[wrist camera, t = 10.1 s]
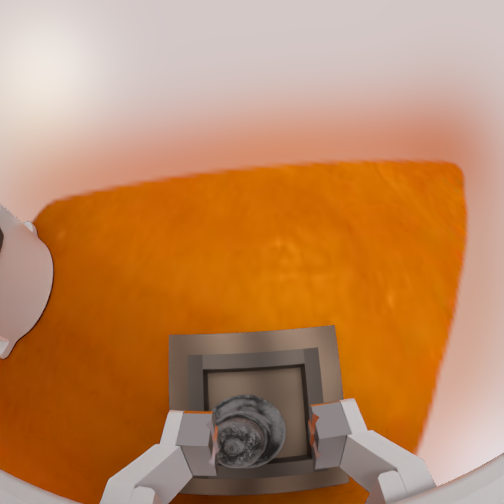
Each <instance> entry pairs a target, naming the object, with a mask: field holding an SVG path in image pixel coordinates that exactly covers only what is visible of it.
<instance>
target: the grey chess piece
mask: <svg viewBox="0 0 504 504" xmlns="http://www.w3.org/2000/svg"><path fill="white" fill-rule="evenodd" d="M212 412H214V413H215V416H216V424H215V425H216V426H217V427H218V430H219V436H220V449H219V452H218V453H217V457H218V461H219V462H218V463H220V464H222V465H223V466H226V467H229V468H246V469H248V468H255V467H259V466H261V465H264V464H266V463H268V462H269V461H271V460H272V459H273V458H274V457H276V456H277V454H278V453H279V452H280V450H281V449H282V447H283V444H284V441H285V435H286V428H285V423H284V419H283V418H282V416H281V414H280V412H279V411H278V410H277V409H276V408H275V407H274V406H273V404H271V403H270V402H268V401H266V400H265V399H263V398H260V397H257V396H254V395H237V396H232V397H229V398H227V399H225V400H223V401H221V402H220V403H219V404H218V405H216V406H215V407H214V408H213V410H212Z"/></svg>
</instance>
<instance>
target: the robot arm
mask: <svg viewBox="0 0 504 504" xmlns="http://www.w3.org/2000/svg"><path fill="white" fill-rule="evenodd" d="M52 280H53V263H52V258H51V254H50V252H49V250H48V248H47V246H46V245H45V244H44V243H43V242H42V241H41V240H40V239H39V238H38V236H37V231H36V227H35V225H34V224H32V223H31V222H30V221H27V222H24V223H22V222H21V221H20V220H19V219H18V218H17V217H15V216H14V215H13V214H12V213H11V212H10V211H9V210H7V209H6V208H5V207H4V206H3V205H2V204H1V203H0V358H2V359H5V358H6V357H7V356H8V355H9V353H10V352H11V350H12V348H13V346H14V344H15V343H16V341H17V340H18V339H20V338H21V337H22V336H23V335H25V334H26V333H27V332H28V331H29V330H30V329H31V328H32V327H33V326H34V324H35V323H36V322H37V320H38V319H39V317H40V316H41V314H42V312H43V310H44V308H45V306H46V303H47V300H48V298H49V294H50V291H51V286H52ZM309 416H310V420H309V421H308V437H309V443H310V446H312V447H313V450H312V458H313V462H314V467H315V469H322V468H329V467H336V466H340V468H341V469H343V470H344V471H345V472H346V473H347V474H348V475H349V476H350V477H352V478H353V479H354V480H355V481H356V482H357V483H359V484H360V485H361V486H362V487H363V488H364V489H366V490H367V491H368V492H369V493H370V494H369V496H368V498H367V500H366V502H365V504H504V453H503V454H501V455H499V456H498V457H496V458H494V459H492V460H491V461H489V462H487V463H485V464H484V465H482V466H480V467H478V468H476V469H474V470H472V471H470V472H468V473H466V474H464V475H462V476H460V477H458V478H456V479H454V480H452V481H450V482H447V483H445V484H443V485H440V486H438V487H436V485H435V482H434V480H433V478H432V476H431V474H430V472H429V470H428V468H427V466H426V464H425V462H424V460H423V459H421V458H419V457H418V456H416V455H414V454H412V453H410V452H409V451H407V450H405V449H403V448H402V447H400V446H398V445H396V444H395V443H393V442H391V441H390V440H388V439H386V438H385V437H383V436H381V435H380V434H378V433H376V432H375V431H373V430H369V431H368V430H367V427H366V425H365V422H364V420H363V418H362V415H361V413H360V410H359V408H358V406H357V403H356V401H355V399H354V398H350V399H345V400H339V401H333V402H326V403H320V404H313V405H310V406H309ZM215 424H216V416H215V413H214V412H212V411H179V410H170V411H169V413H168V415H167V419H166V422H165V426H164V429H163V433H162V436H161V440H160V444H155V445H153V446H152V447H151V448H150V449H148V450H147V451H146V452H144V453H143V454H142V455H141V456H139V457H138V458H137V459H135V460H134V461H133V462H131V463H130V464H129V465H127V466H126V467H125V468H123V469H122V470H121V471H119V472H118V473H117V474H115V475H114V476H112V477H111V478H110V479H108V482H107V485H106V487H105V490H104V493H103V496H102V499H101V501H100V504H168V503H169V502H170V501H171V500H172V499H173V498H174V497H175V496H176V495H177V494H178V492H179V491H180V490H181V489H182V488H183V487H184V486H185V485H186V484H187V482H188V481H189V480H190V479H191V478H192V477H193V476H192V475H198V476H217V473H218V462H219V461H218V457H217V453H218V452H219V449H220V436H219V430H218V427H217V426H216V425H215ZM0 504H82V503H79V502H76V501H73V500H70V499H67V498H64V497H62V496H59V495H56V494H54V493H51V492H49V491H46V490H44V489H41V488H39V487H36V486H34V485H32V484H30V483H27V482H25V481H23V480H21V479H19V478H17V477H15V476H13V475H11V474H9V473H7V472H5V471H3V470H1V469H0Z"/></svg>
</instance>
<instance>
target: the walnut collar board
mask: <svg viewBox="0 0 504 504" xmlns="http://www.w3.org/2000/svg"><path fill="white" fill-rule="evenodd" d="M237 395H254V396H257V397H260V398H263V399H265V400H266V401H268V402H270V403H271V404H273V406H274V407H275V408H276V409H277V410H278V411H279V412H280V414H281V416H282V418H283V419H284V423H285V428H286V435H285V441H284V444H283V447H282V449H281V450H280V452H279V453H278V454H277V456H276V457H274V458H273V459H272V460H271V461H269V462H268V463H266V464H264V465H261V466H259V467H255V468H248V469H246V468H229V467H226V466H223V465H222V464H220V463H218V473H217V476H198V475H192V476H193V477H192V478H191V479H190V480H189V481H188V482H187V484H186V485H185V486H184V487H183V488H182V489H181V490H180V491H179V492H178V493H183V494H198V495H259V494H274V493H285V492H294V491H303V490H310V489H317V488H323V487H329V486H334V485H339V484H344V483H349V475H348V474H347V473H346V472H345V471H344V470H343V469H341V468H340V466H336V467H329V468H322V469H315V467H314V462H313V458H312V450H313V447H312V446H310V443H309V437H308V421H309V420H310V416H309V406H310V405H313V404H320V403H326V402H333V401H339V400H343V390H342V381H341V372H340V364H339V355H338V348H337V340H336V333H335V326H334V325H331V326H322V327H312V328H301V329H290V330H277V331H263V332H247V333H226V334H196V335H169V411H170V410H179V411H212V410H213V408H214V407H215V406H216V405H218V404H219V403H220V402H221V401H223V400H225V399H227V398H229V397H232V396H237Z"/></svg>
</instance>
